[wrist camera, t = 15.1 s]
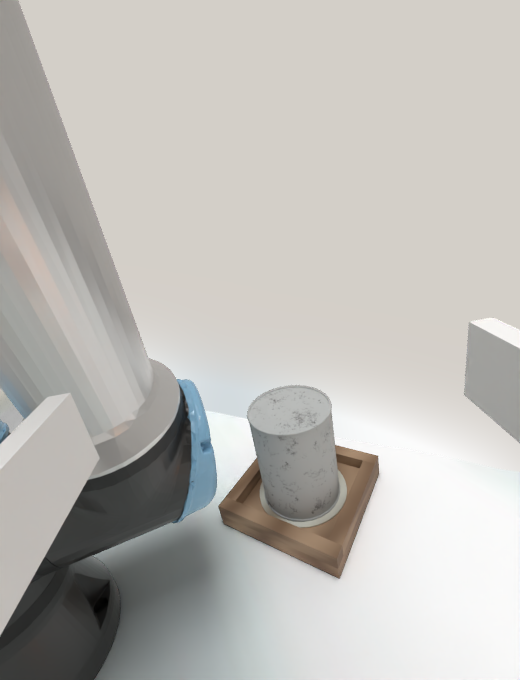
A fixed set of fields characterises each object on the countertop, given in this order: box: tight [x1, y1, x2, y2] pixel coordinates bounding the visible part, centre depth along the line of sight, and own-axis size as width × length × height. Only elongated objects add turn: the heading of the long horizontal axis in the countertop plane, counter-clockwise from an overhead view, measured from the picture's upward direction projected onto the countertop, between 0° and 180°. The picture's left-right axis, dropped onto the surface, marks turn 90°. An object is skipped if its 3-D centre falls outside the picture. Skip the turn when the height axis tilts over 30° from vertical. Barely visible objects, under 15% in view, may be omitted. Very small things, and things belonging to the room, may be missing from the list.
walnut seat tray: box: [219, 445, 379, 579], centre depth 43 cm, size 15×15×3 cm
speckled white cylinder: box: [247, 385, 340, 522], centre depth 41 cm, size 10×10×12 cm
